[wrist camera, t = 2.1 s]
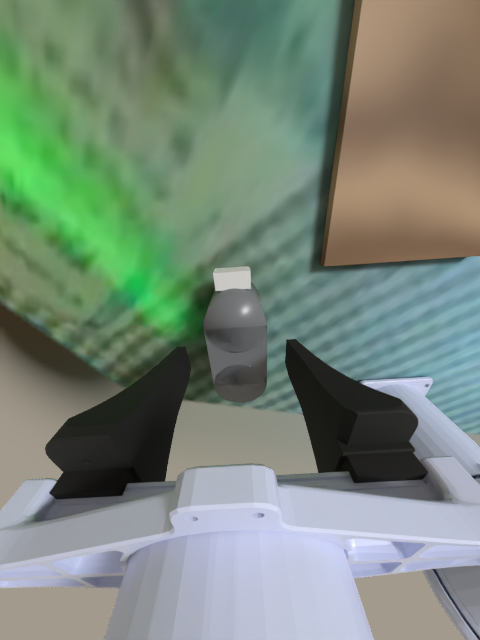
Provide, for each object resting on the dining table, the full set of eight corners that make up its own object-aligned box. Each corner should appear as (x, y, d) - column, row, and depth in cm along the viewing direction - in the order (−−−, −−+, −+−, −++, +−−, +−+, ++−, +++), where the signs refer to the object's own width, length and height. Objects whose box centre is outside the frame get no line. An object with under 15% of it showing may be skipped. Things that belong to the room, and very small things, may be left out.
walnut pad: (471, 253, 15) (483, 255, 14) (319, 264, 15) (324, 266, 14) (636, -80, 8) (674, -109, 7) (361, -53, 8) (373, -79, 8)
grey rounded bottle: (259, 360, 19) (266, 401, 15) (221, 362, 19) (217, 403, 15) (257, 261, 15) (266, 276, 10) (207, 264, 15) (195, 281, 10)
